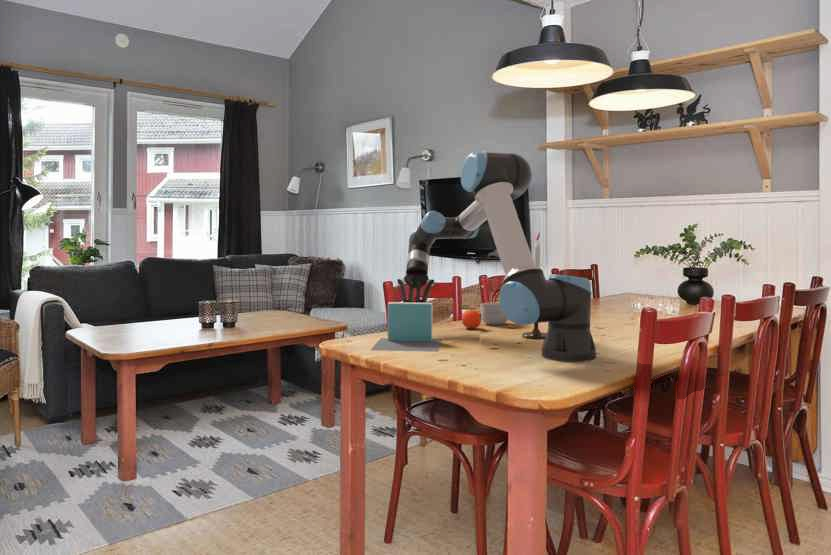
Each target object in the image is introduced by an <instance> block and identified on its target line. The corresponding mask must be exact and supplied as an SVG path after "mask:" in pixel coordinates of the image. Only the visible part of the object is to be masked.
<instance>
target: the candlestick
mask: <svg viewBox="0 0 831 555" xmlns="http://www.w3.org/2000/svg"><path fill="white" fill-rule="evenodd" d="M540 233H541V231H539V232H538V234H537V236H536V243H535V245H534V247H533V248H534V250H533V251H534V252H533V256H534V259H533V261H534V264H535V266H536V267H538V268H541V244H540V243H539V238H540ZM546 334H547V332H543V331H541V330H540V329H539V323H533V329H532V331H527V332H522V334H521V337H522V338H524V339H526V340H545V337H546Z"/></svg>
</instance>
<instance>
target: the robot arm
mask: <svg viewBox="0 0 831 555" xmlns="http://www.w3.org/2000/svg"><path fill="white" fill-rule="evenodd" d="M532 174H533V171H532V168H531V166H530V164H529V162H528V161H527V160H526V158H524V157H522V156H521V155H520V154H517V153H503V152H488V151H487V152H486V151H484V150H483V151H475V152H471V153H470V154H469V155H467V157H466V158H465V159H464V162H463V164H462V167H461V173H460V183H461V187H462V188H463V190H464V191H466V192H468V193H473V196H474V197H473V198H474V199H475V200H474V201H473V202H472V203H471V204H470V205H469V206H468V207H467V208H465V210H463V211H462V212H460V214H459V215H457V216H455V217H453V216H452V217H447V216H446V217H445V216H444V215H443V214H442V213H441V212H437V211H436V210H431V211H428V212H427V213H426V214H425V215H424V217H423V218H422V219H421V221H420V224H419V225H418V227H417V228H415V229H413V230H412V231H411V232H410V235H409V238H408V250H407V251H408V252H407V259H406V270H405V275H404V277H403V278H401V279H400V278H398V279H396V280H397V282H396V283H397V286H398V288H399V289H400V292H401V293H400V294H401V298H402V302H408V303H427V301H428V299H429V296H430V294H431V290H432V289H433V287H435V280H434V278H433V279H430V278H429V276H428V272H429V261H430V259H429V258H430V250H431V247H432V246H433V244H434V243H435V241H436V240H442V239H444V240H446V239H448V240H450V239H452V240H453V239H454V240H455V239H459V240H461V239H464V240H468V239H473V238H475V237H477V235H478V233H479V231H480V230H479V229H480V226H481V225H482V224H484V223H485V222H486V221H487V223H488V226H489V230H490V233H491V236H492V238H493V241H494V242H493V243H494V244H495V247H496V250H497V253H498V257H499V260H500V263H501V266H502V268H503V271H504V275H505V276H504V278H503V280H502V286H501V288H500V290H499V294H498V295H499V298H498V300H499V302H500V307H501V309H502V311H503V313H504V315H505V316H506V317H507V318H508V320H509V321H510V322H512V323H513V324H516V325H534V323H538V324H539V323H548V324H547V326H548V328H547V331H546V333H547V334H546V337H545V339H543V343H542V345H541V356H542V357H544V358H546V359H550V360H555V361H562V362H564V361H565V362H586V360H587V361H591V360H595V359H596V358H597V348H596V344H595V342H594V341H595V340H594V339H593V336H592V331H591V314H592V313H591V309H592V293H593V292H592V288H591V287H592V285H591V284H592V283H591V281H590V279H588V277H587V278H586V277H579V276H570V275H561V274H555V273H554V274H552V273H551V274H549V277H548V278H547V279H546V276H545V273H544V271H543V269H542V268H541V267H540V268H538V267H536V266H535V264H534V259H533V256H532V253H531V249H530V248H529V244H528V242H527V239H526V235H525V234H524V230H523V228H522V224H521V221H520V219H519V217H518V216H519V215H518V213H517V210H516V207H515V204H514V201H513V200H516V199H518V198H519V197H520V196H522V195H523V194H524V193H525V192H526V191H527V190H528V188H529V186H530V184H531V181H532V176H533V175H532ZM405 284H406V285H407V287H408V295H407V296H408V297H406V291H405V286H406V285H405ZM425 285H426V286H425ZM424 286H425V289H424V292H423V294H422V288H423V287H424ZM415 289H416V294H415V302H413V299H414V291H415ZM421 295H422V296H421ZM407 298H408V299H407ZM594 358H595V359H594Z"/></svg>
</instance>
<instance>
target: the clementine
mask: <svg viewBox="0 0 831 555" xmlns="http://www.w3.org/2000/svg"><path fill="white" fill-rule="evenodd" d="M461 313H462V312H460V313H459V315H461ZM461 322H462V325H463V326H464V327H465V328H466V329H469V330H474V329H477V328H478V327H479V326H480V325H481V323H482V318H481V313H480V312H479V311H477V310H475V309H472V308H471V309H465V310H464V313H462V316H461Z"/></svg>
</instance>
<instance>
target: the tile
mask: <svg viewBox="0 0 831 555" xmlns="http://www.w3.org/2000/svg"><path fill="white" fill-rule="evenodd" d="M387 338H388V341H432V339H433V302H426V303H416V302H415V303H408V302H403V301H402V302H397V301H389V302H388V303H387Z"/></svg>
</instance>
